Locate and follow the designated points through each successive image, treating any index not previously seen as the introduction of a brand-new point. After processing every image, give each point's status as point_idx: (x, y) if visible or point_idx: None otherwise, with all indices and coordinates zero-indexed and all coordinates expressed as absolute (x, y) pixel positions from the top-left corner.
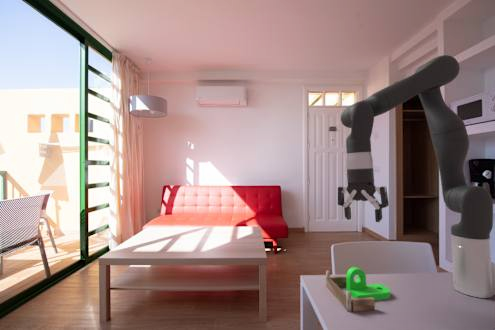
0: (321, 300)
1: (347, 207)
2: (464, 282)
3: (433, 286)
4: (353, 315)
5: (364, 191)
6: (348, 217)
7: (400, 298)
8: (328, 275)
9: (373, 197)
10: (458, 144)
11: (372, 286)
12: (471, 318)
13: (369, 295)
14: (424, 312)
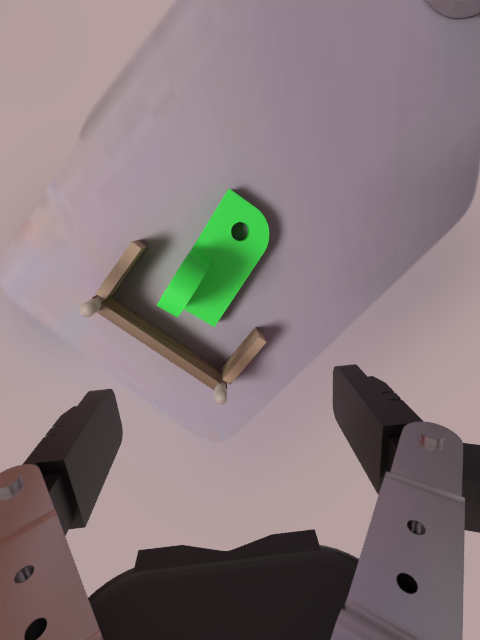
0: (146, 381)
1: (66, 523)
2: None
3: (354, 9)
4: (236, 386)
5: None
6: (117, 450)
7: (290, 213)
8: (96, 310)
9: (433, 563)
10: None
11: (217, 232)
12: (442, 200)
13: (234, 296)
14: (353, 253)
